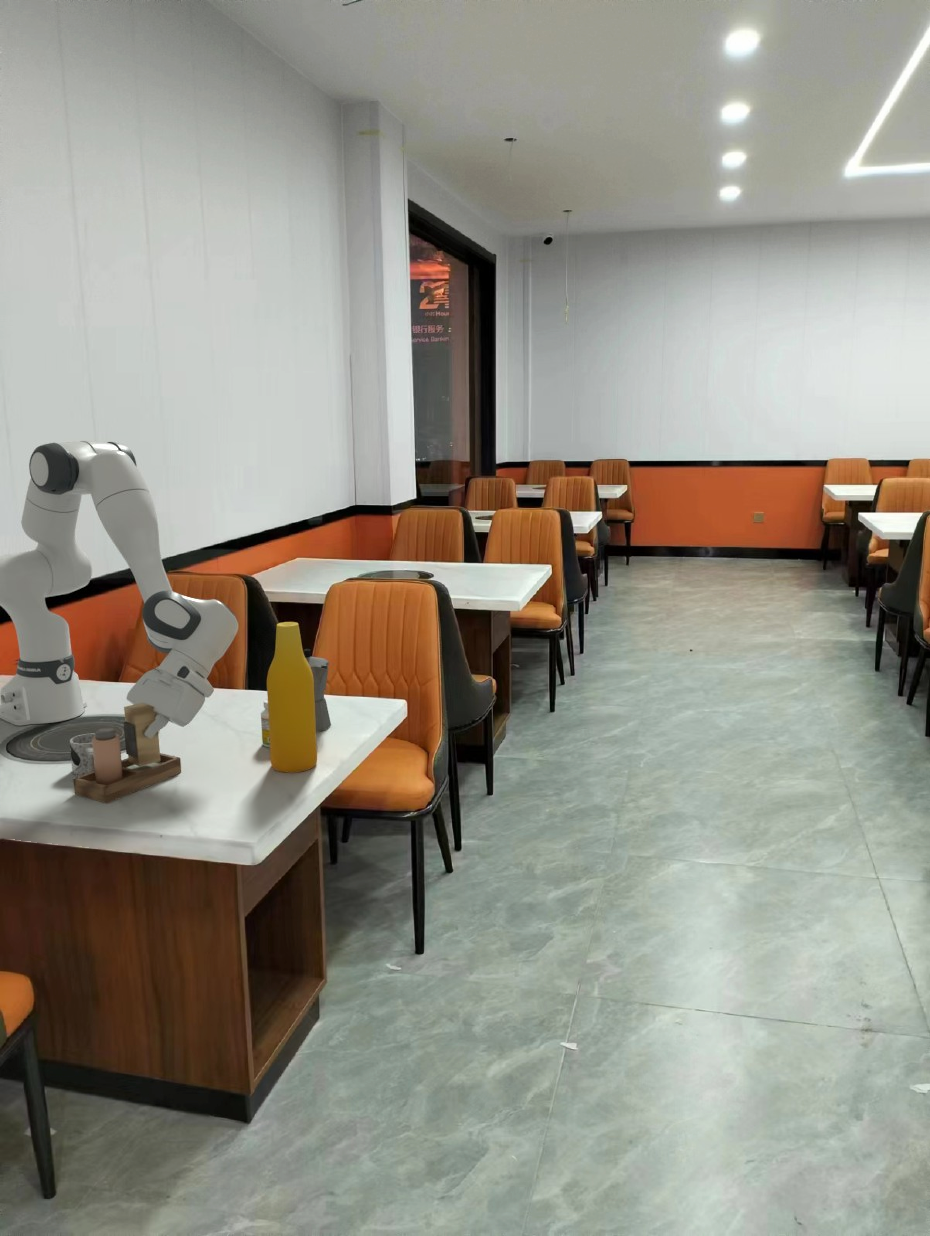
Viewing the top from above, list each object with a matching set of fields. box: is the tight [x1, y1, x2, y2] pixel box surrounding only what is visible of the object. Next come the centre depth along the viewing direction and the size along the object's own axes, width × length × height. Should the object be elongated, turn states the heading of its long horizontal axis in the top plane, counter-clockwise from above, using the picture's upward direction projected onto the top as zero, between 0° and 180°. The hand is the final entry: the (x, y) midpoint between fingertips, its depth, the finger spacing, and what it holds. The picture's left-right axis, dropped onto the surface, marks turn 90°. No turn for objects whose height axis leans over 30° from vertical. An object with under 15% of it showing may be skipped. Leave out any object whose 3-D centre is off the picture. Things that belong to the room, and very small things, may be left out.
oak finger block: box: [123, 703, 161, 767], centre depth 192 cm, size 4×5×11 cm
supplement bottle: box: [260, 698, 270, 748], centre depth 211 cm, size 5×5×10 cm
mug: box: [69, 732, 95, 777], centre depth 195 cm, size 10×7×7 cm
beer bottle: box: [266, 621, 318, 773], centre depth 196 cm, size 9×9×29 cm
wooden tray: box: [72, 752, 182, 804], centre depth 190 cm, size 9×18×3 cm, turn 149°
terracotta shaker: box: [92, 727, 123, 786], centre depth 185 cm, size 5×5×10 cm
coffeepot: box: [303, 648, 332, 733], centre depth 222 cm, size 15×9×18 cm, turn 49°
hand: (139, 732), depth 192 cm, fingers closed on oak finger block, 4 cm apart
